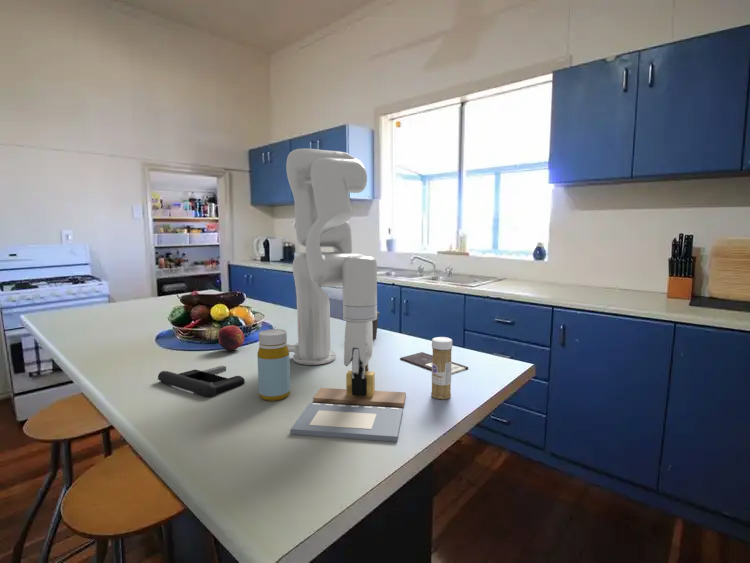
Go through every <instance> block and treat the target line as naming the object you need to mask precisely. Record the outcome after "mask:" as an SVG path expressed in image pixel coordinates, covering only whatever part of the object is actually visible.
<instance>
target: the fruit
mask: <svg viewBox="0 0 750 563" xmlns="http://www.w3.org/2000/svg"><path fill="white" fill-rule="evenodd" d="M244 342H245V335H244V333H243V330H242V329H240V328H239V327H238V326H236V325H232V324H231V325H226V326H223V327H222V328H220V329H219V330H218V344H219V346H220V347H222V348H223V349H224V350H226V351H227V352H231V351H232V350H233V351H235V350H236V349H238V348H240V347H241V346H242V345H243V344H244Z"/></svg>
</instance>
